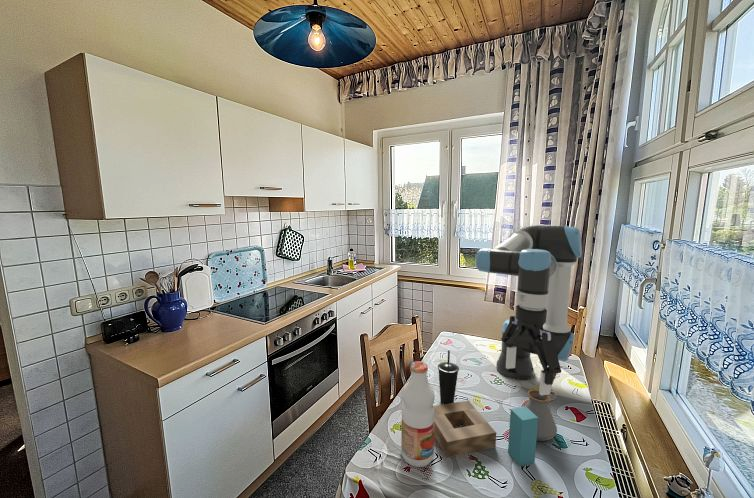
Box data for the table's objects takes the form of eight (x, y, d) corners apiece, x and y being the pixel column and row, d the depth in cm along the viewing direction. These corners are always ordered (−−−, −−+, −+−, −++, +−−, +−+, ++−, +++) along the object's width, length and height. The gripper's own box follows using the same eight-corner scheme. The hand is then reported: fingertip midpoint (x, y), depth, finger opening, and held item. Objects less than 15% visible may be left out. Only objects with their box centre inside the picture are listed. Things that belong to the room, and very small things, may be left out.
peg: (522, 449, 93) (525, 406, 91) (534, 462, 88) (538, 417, 86) (508, 452, 92) (510, 408, 90) (519, 466, 87) (522, 420, 85)
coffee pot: (548, 451, 92) (552, 405, 90) (510, 431, 100) (513, 388, 98) (571, 419, 106) (575, 378, 104) (536, 403, 114) (539, 365, 112)
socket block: (467, 413, 109) (468, 400, 108) (495, 447, 93) (496, 432, 93) (425, 420, 105) (425, 407, 104) (446, 457, 90) (447, 441, 89)
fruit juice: (406, 439, 97) (407, 354, 93) (436, 447, 93) (438, 360, 90) (396, 462, 88) (397, 370, 84) (429, 472, 85) (432, 376, 81)
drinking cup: (458, 409, 111) (460, 356, 108) (436, 406, 113) (438, 354, 110) (457, 396, 119) (459, 347, 116) (436, 394, 120) (438, 345, 117)
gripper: (491, 294, 95) (488, 360, 98) (556, 324, 71) (549, 409, 74) (513, 293, 97) (509, 357, 99) (583, 321, 73) (575, 405, 75)
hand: (526, 380), depth 86 cm, fingers open, 13 cm apart
